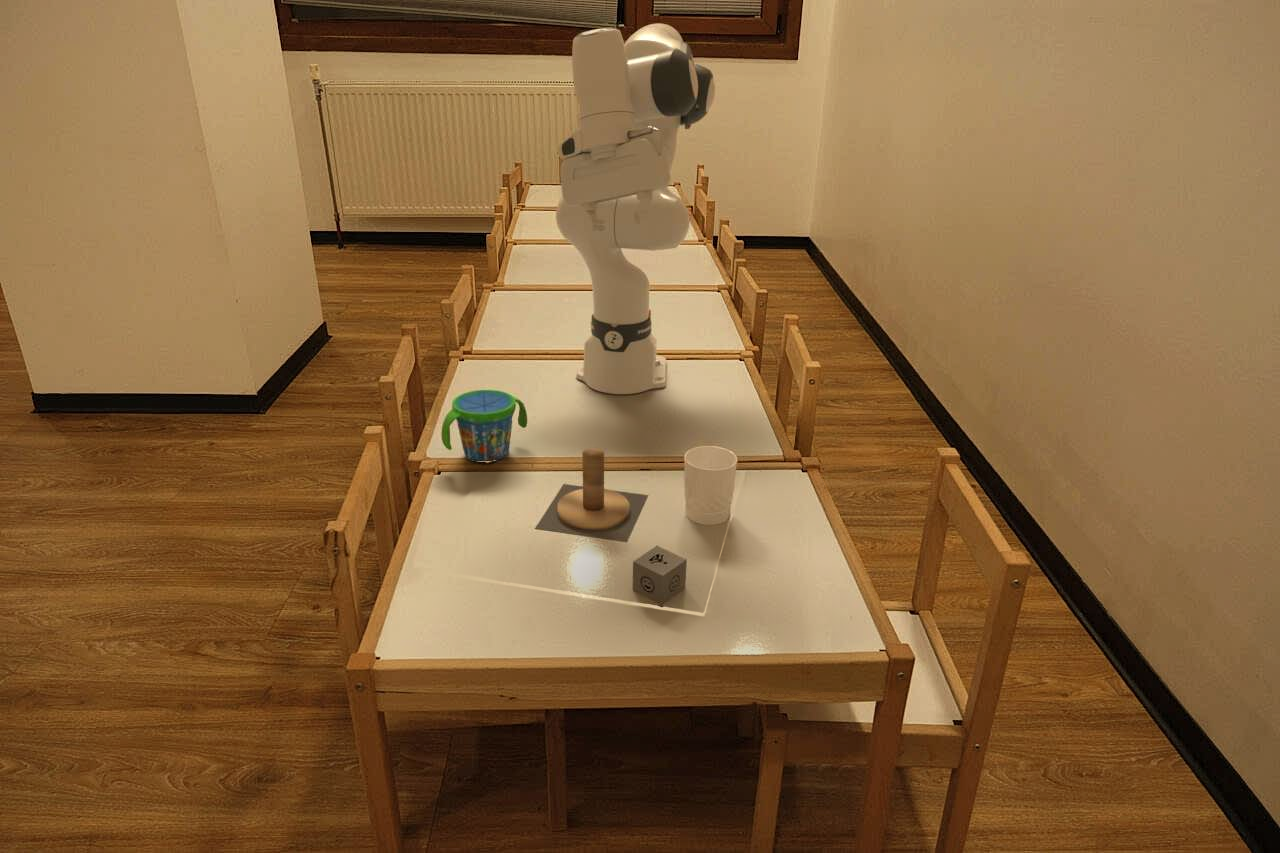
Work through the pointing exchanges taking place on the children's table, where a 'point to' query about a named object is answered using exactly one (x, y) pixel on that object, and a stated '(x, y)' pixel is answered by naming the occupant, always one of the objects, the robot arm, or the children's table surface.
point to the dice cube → (659, 575)
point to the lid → (593, 499)
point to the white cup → (709, 484)
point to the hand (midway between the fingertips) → (619, 227)
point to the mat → (617, 533)
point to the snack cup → (483, 423)
